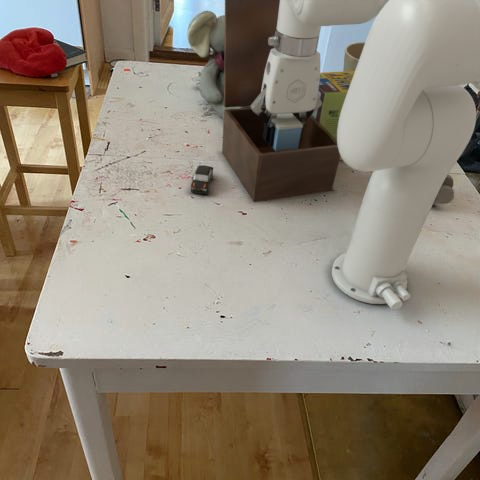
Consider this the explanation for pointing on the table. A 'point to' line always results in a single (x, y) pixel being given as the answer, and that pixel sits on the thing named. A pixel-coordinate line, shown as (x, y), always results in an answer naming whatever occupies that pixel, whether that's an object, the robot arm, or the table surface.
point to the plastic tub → (286, 132)
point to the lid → (247, 48)
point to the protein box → (332, 99)
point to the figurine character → (445, 191)
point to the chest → (278, 157)
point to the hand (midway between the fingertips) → (281, 141)
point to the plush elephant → (212, 75)
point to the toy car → (202, 178)
